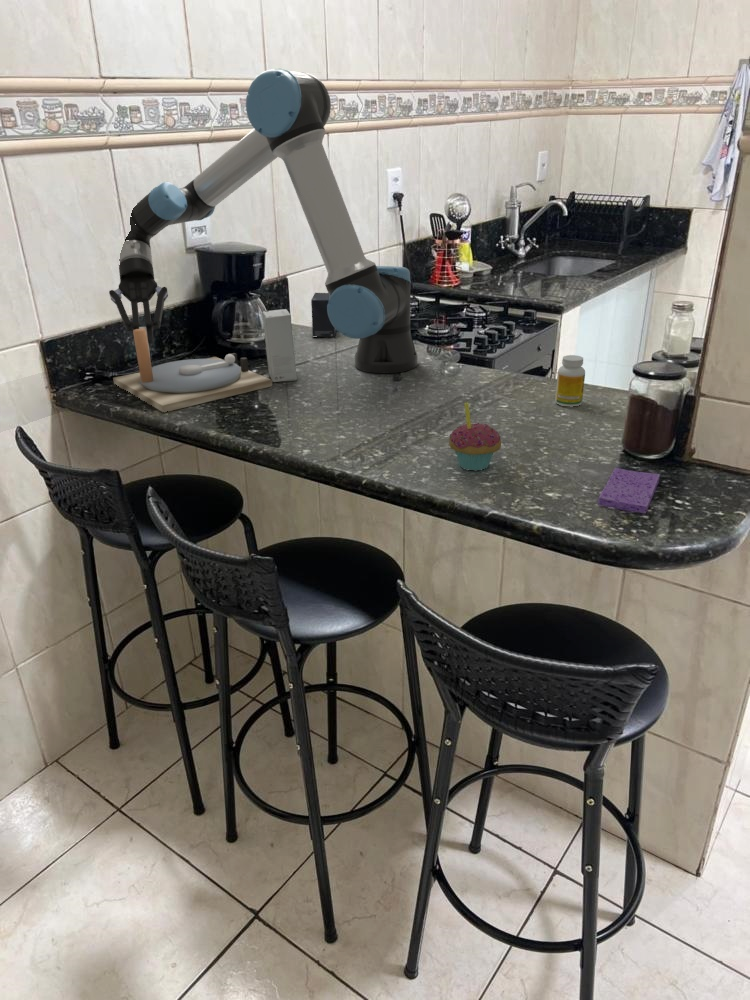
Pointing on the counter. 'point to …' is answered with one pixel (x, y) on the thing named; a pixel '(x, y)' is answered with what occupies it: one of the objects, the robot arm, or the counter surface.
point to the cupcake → (474, 443)
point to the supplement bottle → (570, 381)
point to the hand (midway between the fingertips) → (146, 355)
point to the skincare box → (279, 345)
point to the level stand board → (181, 400)
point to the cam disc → (183, 371)
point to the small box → (321, 316)
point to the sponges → (629, 490)
